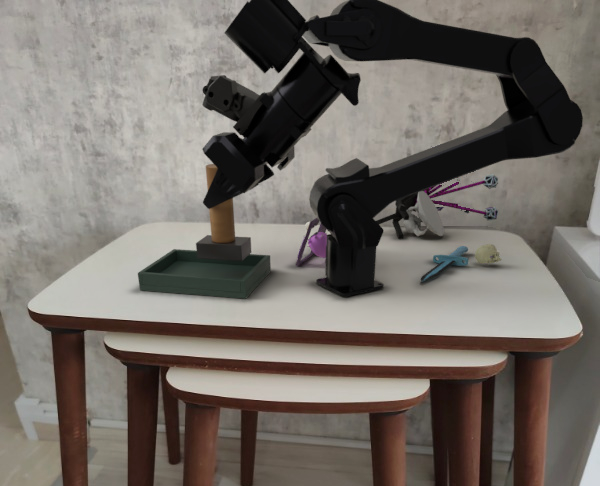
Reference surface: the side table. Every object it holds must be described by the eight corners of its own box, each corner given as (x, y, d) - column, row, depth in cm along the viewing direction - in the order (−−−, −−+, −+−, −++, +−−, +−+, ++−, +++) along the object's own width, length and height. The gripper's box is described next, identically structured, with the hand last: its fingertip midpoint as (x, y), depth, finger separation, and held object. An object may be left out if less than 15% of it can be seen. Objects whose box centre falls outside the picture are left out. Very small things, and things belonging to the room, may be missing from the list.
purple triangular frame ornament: (327, 206, 89) (305, 219, 82) (358, 220, 88) (339, 235, 81) (312, 247, 93) (290, 263, 86) (342, 261, 92) (323, 279, 85)
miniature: (426, 188, 101) (401, 203, 103) (414, 192, 94) (387, 208, 97) (448, 232, 102) (422, 245, 104) (436, 238, 95) (410, 253, 98)
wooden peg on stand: (251, 252, 79) (247, 163, 74) (242, 261, 76) (236, 168, 70) (208, 250, 80) (200, 162, 75) (197, 258, 77) (188, 167, 72)
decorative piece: (344, 266, 105) (447, 209, 120) (406, 276, 95) (511, 213, 110) (329, 181, 98) (441, 132, 112) (395, 183, 88) (508, 129, 103)
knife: (403, 284, 79) (439, 289, 77) (403, 275, 79) (440, 279, 76) (448, 251, 92) (481, 254, 89) (448, 243, 91) (481, 246, 89)
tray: (270, 271, 84) (270, 255, 83) (246, 299, 74) (245, 280, 73) (175, 264, 87) (173, 248, 85) (139, 290, 77) (137, 272, 76)
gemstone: (469, 260, 87) (472, 240, 86) (497, 261, 87) (501, 240, 85) (472, 267, 84) (475, 246, 83) (502, 267, 84) (505, 246, 83)
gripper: (267, 47, 74) (191, 143, 81) (213, 45, 58) (126, 164, 66) (330, 118, 76) (250, 205, 84) (295, 135, 60) (201, 240, 68)
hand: (210, 202), depth 75 cm, fingers closed on wooden peg on stand, 3 cm apart
